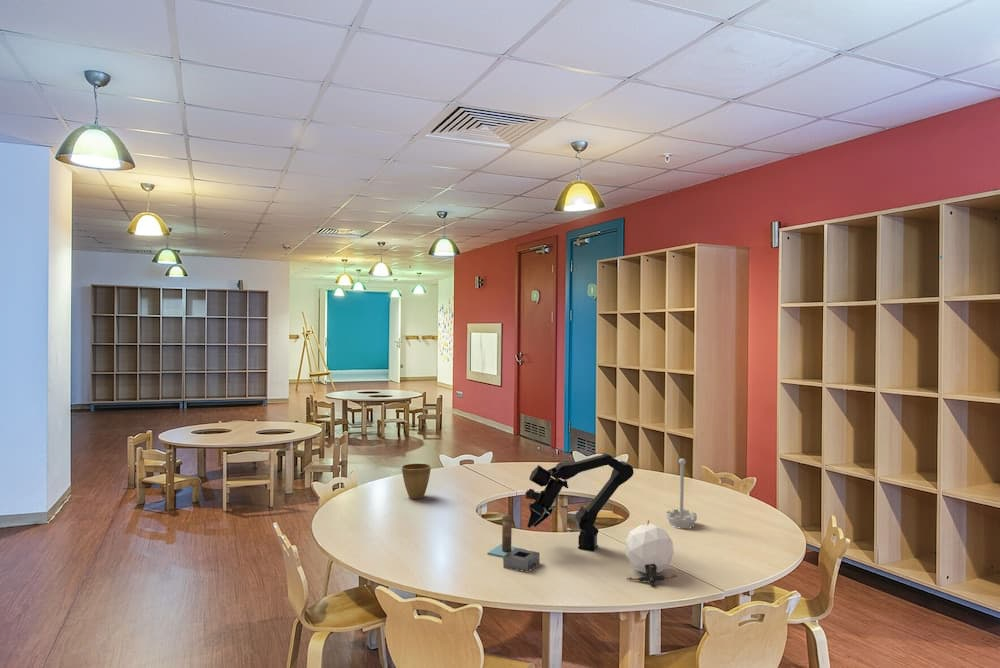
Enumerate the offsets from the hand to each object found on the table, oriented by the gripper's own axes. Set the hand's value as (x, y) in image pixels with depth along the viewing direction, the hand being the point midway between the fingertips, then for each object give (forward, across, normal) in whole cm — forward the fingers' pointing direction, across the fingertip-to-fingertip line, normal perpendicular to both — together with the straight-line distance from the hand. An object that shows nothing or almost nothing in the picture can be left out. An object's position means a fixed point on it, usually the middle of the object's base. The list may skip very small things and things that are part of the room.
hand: (531, 526), depth 255 cm
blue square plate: (+13, +3, -3) cm, 14 cm away
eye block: (+11, +14, +6) cm, 19 cm away
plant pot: (+30, -55, -70) cm, 94 cm away
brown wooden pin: (+13, +3, -3) cm, 13 cm away
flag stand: (-29, -54, +48) cm, 78 cm away
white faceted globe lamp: (-11, +7, +47) cm, 49 cm away
